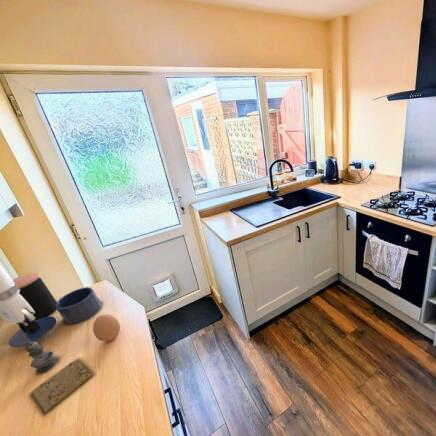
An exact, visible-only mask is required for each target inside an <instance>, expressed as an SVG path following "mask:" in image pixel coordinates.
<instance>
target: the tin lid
mask: <svg viewBox="0 0 436 436" xmlns="http://www.w3.org/2000/svg"><path fill="white" fill-rule="evenodd" d="M26 320H28V319H26ZM26 320H25V321H26ZM36 322H37V323H38V325H39V326H40V328H39V329H38V330H36V331H35V332H34V333H32V334H30V333H29V332H26V333H24V332H23V331H22V330H21V328H20V329H18V330H17V331H16V332H15V333H14V334H13V335H11V337H10V338H9V340H8V346H9V347H10V348H22V347H26V345H27V344H28V342H33V341H36V342H37V341H38V340H39V339H41V338H43V337H44V336H46V335H47V334H48V333H50V331H51V330H52V329H53V328H54V327H55V326H56V324H57V319H56V318H55V317H54V316H47V317H44V318H41V319H38V320H36ZM21 324H22V325H23V326H25V325H24V324H23V323H21ZM24 328H25V327H24ZM25 329H26V328H25Z"/></svg>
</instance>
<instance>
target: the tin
mask: <svg viewBox="0 0 436 436" xmlns="http://www.w3.org/2000/svg"><path fill="white" fill-rule="evenodd" d="M55 307H56V311H57V312H58V313H59V314H60V316H61V318H62V320H63V321H64V322H65V324H67V325H76V324H79V323H82V322H84V321H87V320H88V319H90V318H92V317H93V316H95V314H97V313H98V312H99V311H100V309H101V307H102V302H101V301H100V299H99V298H98V295H97V294H96V292H95V290H94V288H92V287H89V286H87V287H81V288H78V289H75V290H72V291H70V292H69V293H66V294H65V295H63V296H62V297H61V298H59V300H57V303H56V305H55Z"/></svg>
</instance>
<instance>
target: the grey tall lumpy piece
mask: <svg viewBox="0 0 436 436" xmlns="http://www.w3.org/2000/svg"><path fill="white" fill-rule="evenodd" d="M24 349H25V351H26V352H27V353H28V357H31V359H33V360H32V361H31V363H30V368H33V369H36V370H37V371H36V372H37V374H43V373H46V372H48V371H50V370H51V369H52V368H54V366H56V365H57V363H58V358H55V357H54V356H55V355H54V351H53V350H48V351H46V350H44V346H41V345H40V344H39V342H37V340H36V341H33V342H28V344H27V345H25V346H24Z"/></svg>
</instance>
